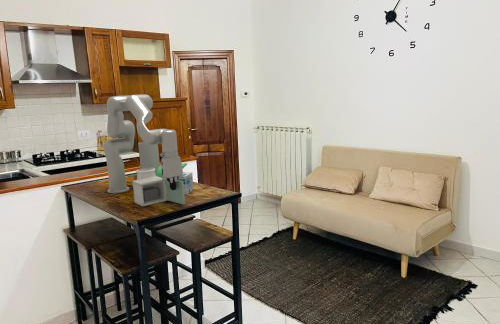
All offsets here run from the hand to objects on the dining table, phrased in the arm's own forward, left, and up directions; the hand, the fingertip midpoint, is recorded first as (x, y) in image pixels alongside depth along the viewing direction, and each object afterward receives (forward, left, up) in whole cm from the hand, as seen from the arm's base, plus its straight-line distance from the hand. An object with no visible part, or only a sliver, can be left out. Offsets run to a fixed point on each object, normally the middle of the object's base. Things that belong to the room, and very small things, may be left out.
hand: (173, 189), depth 193 cm
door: (-3, +3, -8) cm, 9 cm away
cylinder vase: (-66, +18, -9) cm, 69 cm away
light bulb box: (-19, +17, -9) cm, 27 cm away
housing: (-16, -6, -8) cm, 19 cm away
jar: (-30, -1, -9) cm, 31 cm away
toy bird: (-43, +21, -9) cm, 49 cm away
